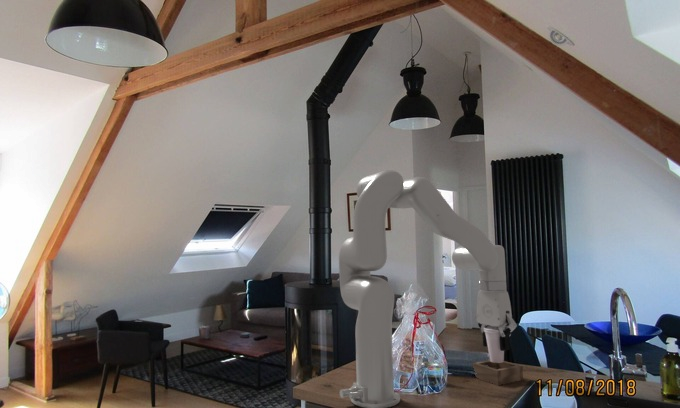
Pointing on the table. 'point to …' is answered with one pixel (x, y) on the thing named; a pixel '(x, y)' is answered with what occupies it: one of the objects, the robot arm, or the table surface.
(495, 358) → the smoothie
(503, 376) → the box
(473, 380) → the table surface
